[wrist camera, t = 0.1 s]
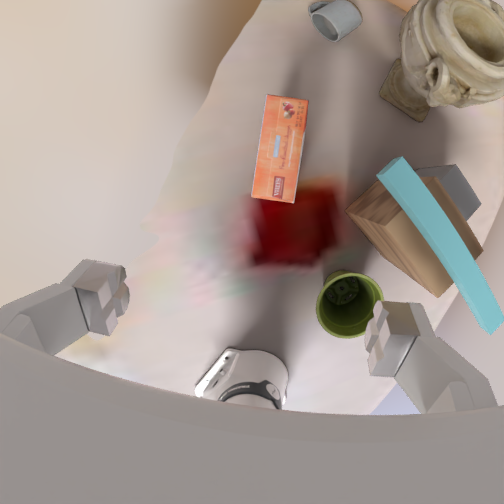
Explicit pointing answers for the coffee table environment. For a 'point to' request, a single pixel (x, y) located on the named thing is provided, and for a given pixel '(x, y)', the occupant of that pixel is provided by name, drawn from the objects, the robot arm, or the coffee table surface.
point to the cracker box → (280, 148)
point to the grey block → (454, 187)
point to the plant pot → (347, 304)
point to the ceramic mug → (335, 18)
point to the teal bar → (442, 240)
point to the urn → (448, 56)
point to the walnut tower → (409, 233)
